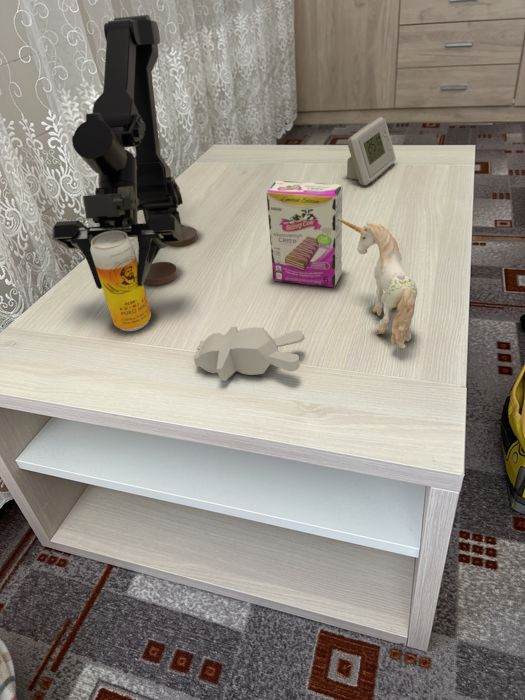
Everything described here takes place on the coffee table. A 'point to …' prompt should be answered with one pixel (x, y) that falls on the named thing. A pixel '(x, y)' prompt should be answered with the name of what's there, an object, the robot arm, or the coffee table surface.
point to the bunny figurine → (246, 352)
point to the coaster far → (186, 237)
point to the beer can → (120, 279)
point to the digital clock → (370, 152)
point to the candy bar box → (305, 232)
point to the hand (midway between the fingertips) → (119, 287)
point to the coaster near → (161, 273)
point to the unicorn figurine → (389, 281)
